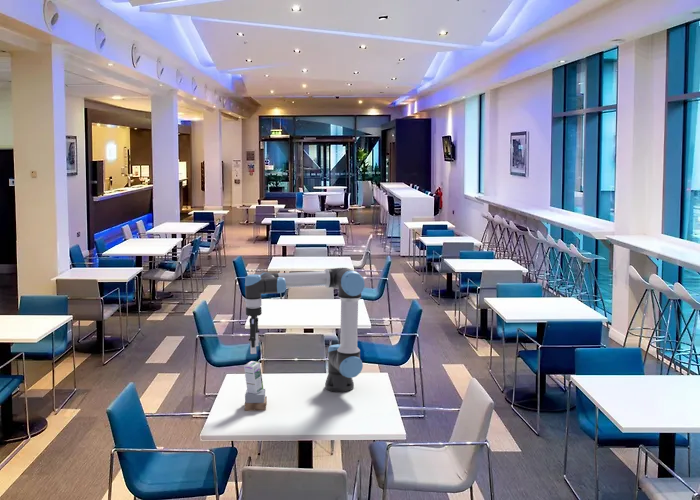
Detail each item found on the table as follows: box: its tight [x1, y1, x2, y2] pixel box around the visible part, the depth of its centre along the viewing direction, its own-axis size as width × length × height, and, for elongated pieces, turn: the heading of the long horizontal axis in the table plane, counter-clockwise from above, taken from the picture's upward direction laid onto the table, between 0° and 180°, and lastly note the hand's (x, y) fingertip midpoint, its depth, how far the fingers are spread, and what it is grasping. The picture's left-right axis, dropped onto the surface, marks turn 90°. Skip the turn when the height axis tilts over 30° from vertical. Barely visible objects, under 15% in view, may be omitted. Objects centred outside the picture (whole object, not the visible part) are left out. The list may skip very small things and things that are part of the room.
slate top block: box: [244, 388, 266, 404], centre depth 365 cm, size 9×9×4 cm
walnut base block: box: [244, 395, 268, 412], centre depth 365 cm, size 10×10×4 cm
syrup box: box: [243, 360, 264, 394], centre depth 363 cm, size 6×6×14 cm
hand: (254, 349), depth 362 cm, fingers open, 13 cm apart
